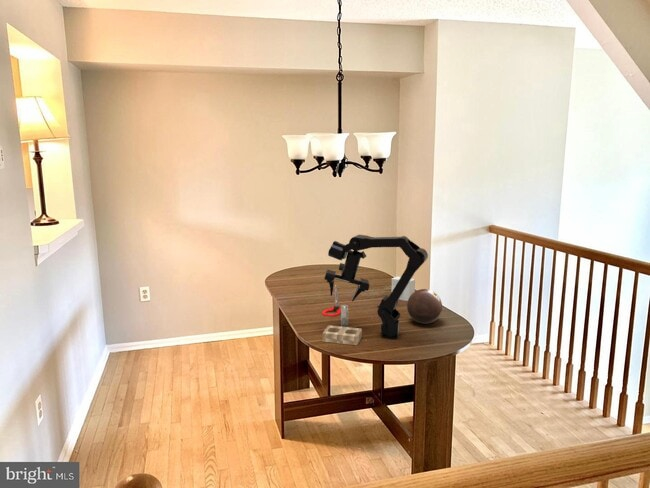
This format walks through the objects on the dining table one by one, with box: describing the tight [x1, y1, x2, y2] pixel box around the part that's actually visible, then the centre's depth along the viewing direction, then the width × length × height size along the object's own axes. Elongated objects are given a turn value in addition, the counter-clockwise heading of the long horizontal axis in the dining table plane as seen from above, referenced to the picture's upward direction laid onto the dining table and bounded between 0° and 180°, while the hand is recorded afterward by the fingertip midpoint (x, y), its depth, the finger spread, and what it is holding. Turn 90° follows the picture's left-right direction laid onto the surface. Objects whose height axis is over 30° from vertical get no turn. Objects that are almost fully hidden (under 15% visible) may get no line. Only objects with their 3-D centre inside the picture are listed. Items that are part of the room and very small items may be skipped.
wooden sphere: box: [406, 288, 443, 325], centre depth 210 cm, size 15×15×15 cm
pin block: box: [322, 324, 363, 346], centre depth 192 cm, size 14×9×4 cm, turn 74°
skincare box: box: [390, 275, 416, 302], centre depth 245 cm, size 10×6×10 cm, turn 54°
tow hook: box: [322, 284, 341, 318], centre depth 222 cm, size 8×13×9 cm
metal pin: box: [340, 304, 349, 327], centre depth 203 cm, size 3×3×10 cm
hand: (341, 298), depth 202 cm, fingers open, 9 cm apart
